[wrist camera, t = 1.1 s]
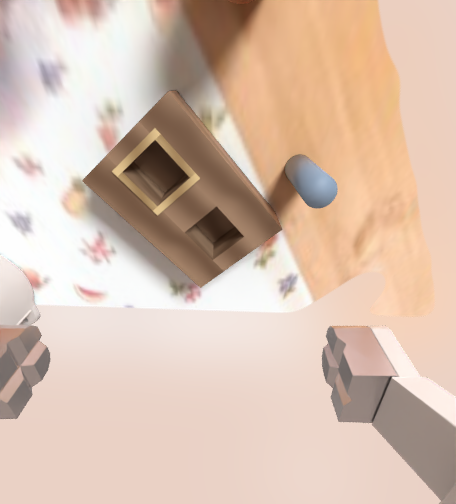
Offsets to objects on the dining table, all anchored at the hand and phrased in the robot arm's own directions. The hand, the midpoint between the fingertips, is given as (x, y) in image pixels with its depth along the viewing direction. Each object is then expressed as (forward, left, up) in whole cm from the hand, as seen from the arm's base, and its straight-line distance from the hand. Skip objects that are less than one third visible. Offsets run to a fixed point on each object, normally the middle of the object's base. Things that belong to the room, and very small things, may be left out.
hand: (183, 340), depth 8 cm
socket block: (-6, -3, -33) cm, 34 cm away
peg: (+7, -10, -33) cm, 35 cm away
